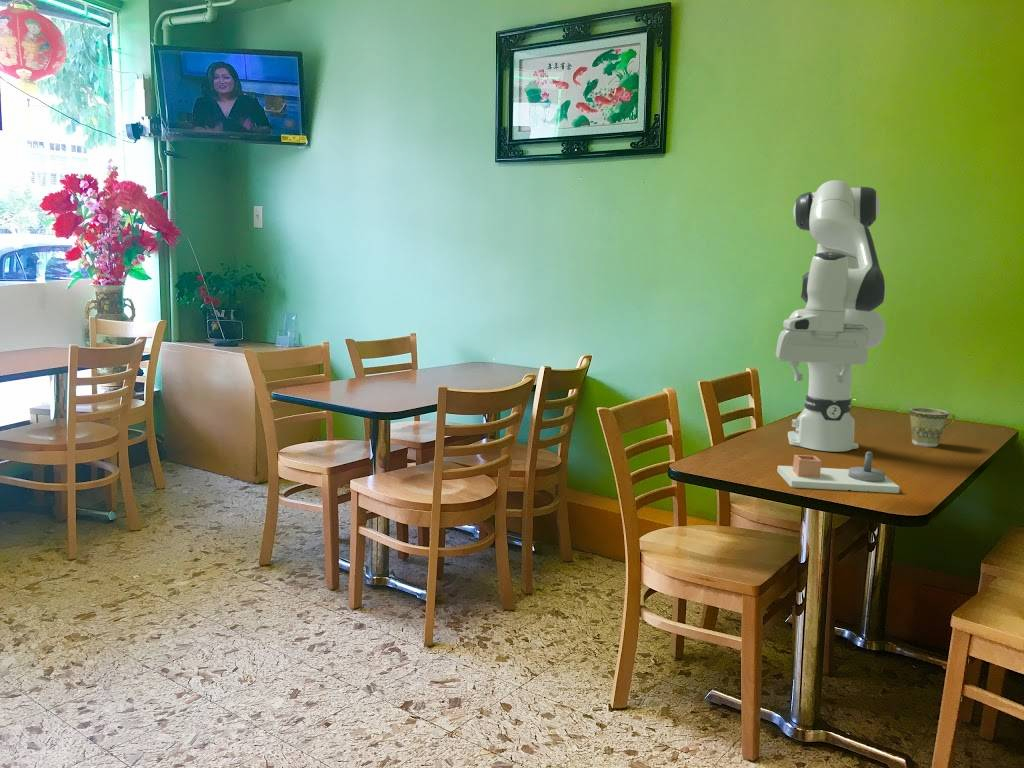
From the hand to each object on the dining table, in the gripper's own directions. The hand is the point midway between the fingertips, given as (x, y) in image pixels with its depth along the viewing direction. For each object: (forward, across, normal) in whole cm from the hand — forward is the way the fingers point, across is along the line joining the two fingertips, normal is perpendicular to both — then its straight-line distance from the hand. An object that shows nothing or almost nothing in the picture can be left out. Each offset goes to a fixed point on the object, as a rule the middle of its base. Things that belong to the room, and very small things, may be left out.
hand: (818, 382), depth 190 cm
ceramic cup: (+23, -47, -48) cm, 71 cm away
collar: (+22, +1, 0) cm, 22 cm away
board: (+24, -6, 0) cm, 25 cm away
